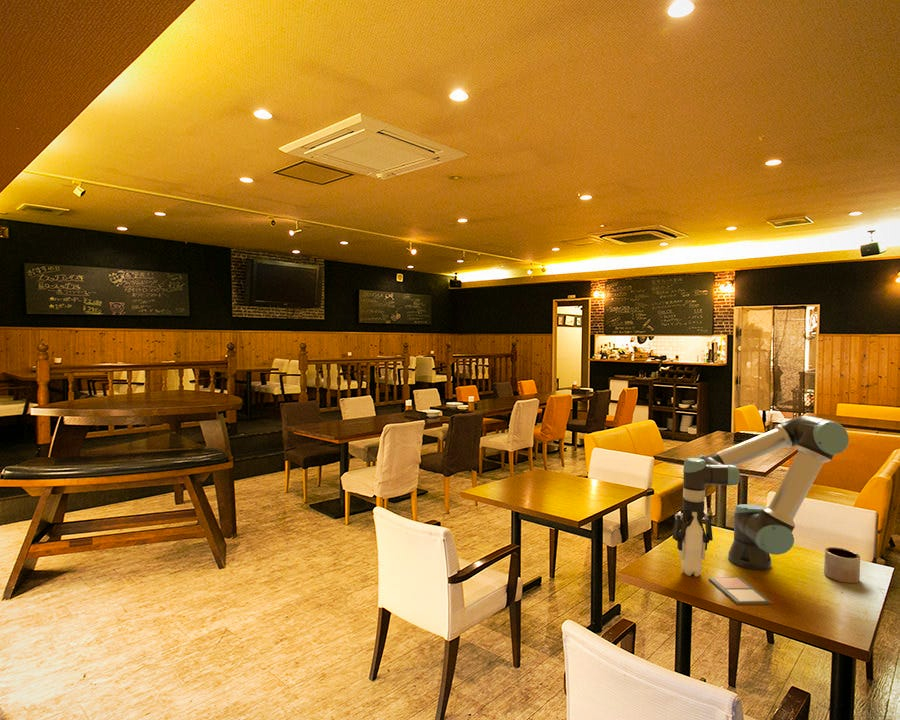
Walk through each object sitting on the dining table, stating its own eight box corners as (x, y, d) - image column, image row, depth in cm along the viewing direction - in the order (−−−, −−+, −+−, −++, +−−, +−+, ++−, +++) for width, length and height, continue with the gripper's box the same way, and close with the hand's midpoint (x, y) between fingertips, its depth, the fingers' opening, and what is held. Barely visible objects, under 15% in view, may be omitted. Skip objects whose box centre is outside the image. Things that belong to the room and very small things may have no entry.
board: (740, 579, 195) (740, 577, 195) (771, 603, 177) (771, 601, 177) (708, 579, 195) (708, 577, 195) (736, 604, 177) (736, 601, 177)
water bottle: (677, 569, 203) (679, 506, 202) (695, 569, 204) (696, 506, 202) (687, 578, 196) (689, 512, 195) (705, 577, 196) (707, 512, 195)
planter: (854, 574, 200) (855, 550, 200) (863, 586, 190) (864, 560, 190) (820, 569, 205) (821, 545, 204) (827, 580, 195) (828, 555, 195)
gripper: (714, 496, 203) (712, 554, 203) (663, 496, 202) (661, 554, 203) (724, 502, 195) (723, 562, 196) (672, 502, 194) (670, 562, 195)
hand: (691, 558), depth 199 cm, fingers closed on water bottle, 7 cm apart
